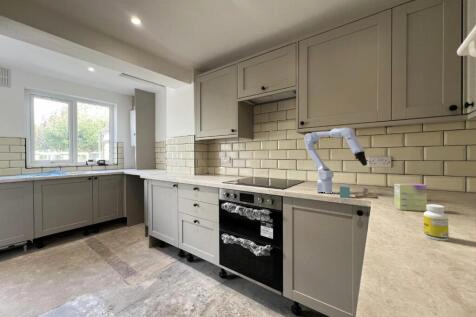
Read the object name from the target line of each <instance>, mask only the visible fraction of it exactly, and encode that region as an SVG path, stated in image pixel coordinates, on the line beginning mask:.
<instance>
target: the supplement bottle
mask: <svg viewBox="0 0 476 317" xmlns="http://www.w3.org/2000/svg"><path fill="white" fill-rule="evenodd" d="M426 209H427V211H423V235H424V236H425V237H426V238H428V239H430V238H431V240H435V241H444V242H445V241H449V237H450V235H449V216H448V214H447V213H445V209H446V208H445V206H444V205H441V204H435V203H429V204H428V203H427V205H426Z"/></svg>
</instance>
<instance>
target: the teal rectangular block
mask: <svg viewBox="0 0 476 317" xmlns="http://www.w3.org/2000/svg"><path fill="white" fill-rule="evenodd" d="M350 187H351V186H350V185H339V198H341V199H342V198H344V199H350V197H351V188H350Z"/></svg>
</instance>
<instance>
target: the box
mask: <svg viewBox="0 0 476 317" xmlns="http://www.w3.org/2000/svg"><path fill="white" fill-rule="evenodd" d="M393 187H394V188H393V190H394V191H393V192H394V193H393V196H394V199H393V200H394V208H396V209H397V210H399V211H416V212H426V211H427V209H426V205H427V204H428V200H427V198H428V197H427V190H428V189H427V184H424V183H423V184H422V183H396V182H395V183H394V186H393Z"/></svg>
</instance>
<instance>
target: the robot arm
mask: <svg viewBox="0 0 476 317" xmlns="http://www.w3.org/2000/svg"><path fill="white" fill-rule="evenodd" d="M323 137H331V138H334V139H335V138H344V139H345V141H346V143H347V144H348V147H349V149H350V150H351V152H352V155H353V156H355V159H357V160H358V162H360V164H361V165H362V166H363V167H364V166H367V165H368V161H367V158H366V155H365V154H366V153H365V150H366V148H365V147H363V146H362V145H361V143H360V142H359V140H358V138H357V136H356V135H355V130H354V129H353V128H352V127H351V128H350V127H339V128H338V127H334V128H333V129H331V130H330V131H328V130H327V131H316V132H311V133H306V134H305V135H304V137H303V141H304V144H305V149H306V151H307V153H308V155H309V156H310V158H311V159H312V162H313V163H314V165H315V166H316V168H317V174H318V178H319V179H317V182H316V190H317V191H316V193H317V192H326V193H325V194H327V193H331V192H332V191H333V178H334V171H332V170H331V169H330V167H328V166H327V165H326V164H325V162H324V161H323V160H322V158H321V156H320V154H319V153H318V150H316V148H315V146H316V145H317V143H318V142H319V140H321V138H323ZM319 190H320V191H319Z"/></svg>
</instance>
